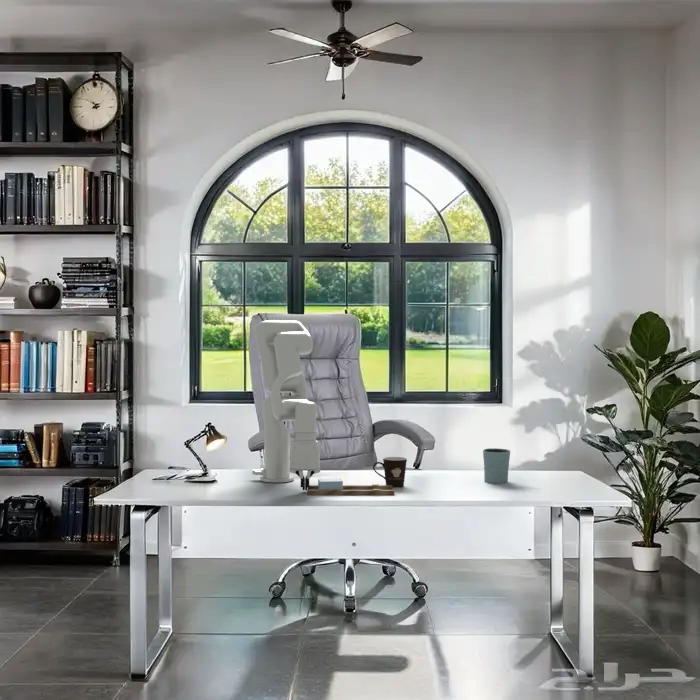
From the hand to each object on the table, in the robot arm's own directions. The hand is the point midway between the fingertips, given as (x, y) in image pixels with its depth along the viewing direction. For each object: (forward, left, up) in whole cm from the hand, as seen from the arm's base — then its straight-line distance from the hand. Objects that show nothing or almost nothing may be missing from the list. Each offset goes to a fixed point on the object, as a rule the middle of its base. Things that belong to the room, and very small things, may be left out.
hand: (304, 489), depth 315 cm
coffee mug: (+31, +13, -1) cm, 33 cm away
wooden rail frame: (+16, 0, -1) cm, 16 cm away
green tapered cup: (+71, +21, -1) cm, 74 cm away
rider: (+9, 0, -1) cm, 9 cm away
